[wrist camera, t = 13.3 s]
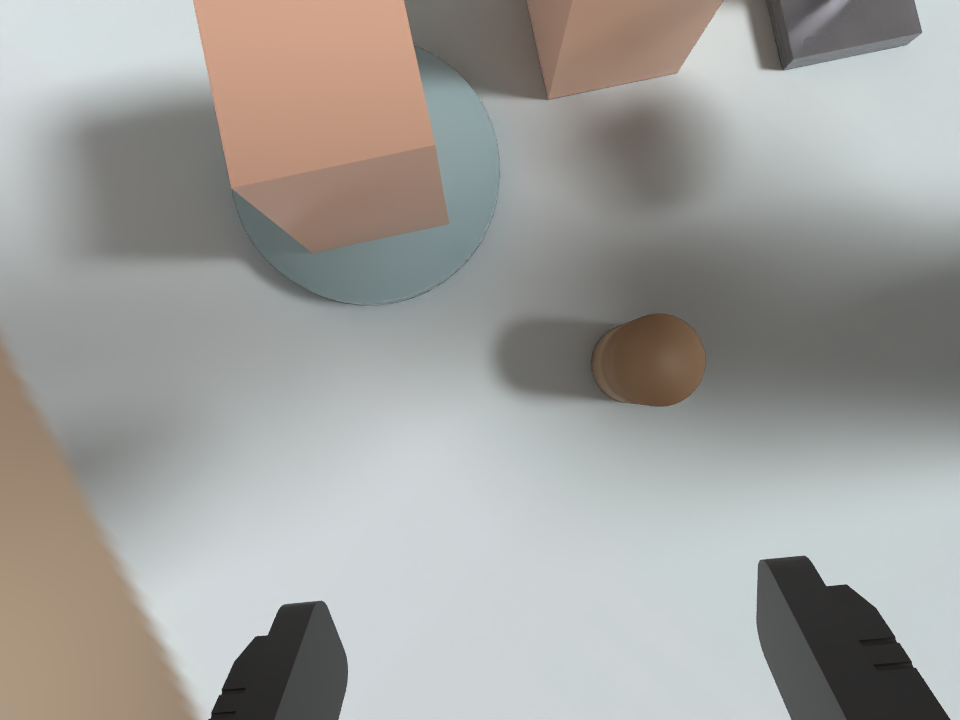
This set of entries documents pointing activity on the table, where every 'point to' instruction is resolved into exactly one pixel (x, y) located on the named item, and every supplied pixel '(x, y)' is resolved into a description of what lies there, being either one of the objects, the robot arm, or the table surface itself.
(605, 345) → the wooden peg
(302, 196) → the salmon rectangular block
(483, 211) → the dish
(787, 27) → the balance
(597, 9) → the salmon square column
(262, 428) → the table surface
